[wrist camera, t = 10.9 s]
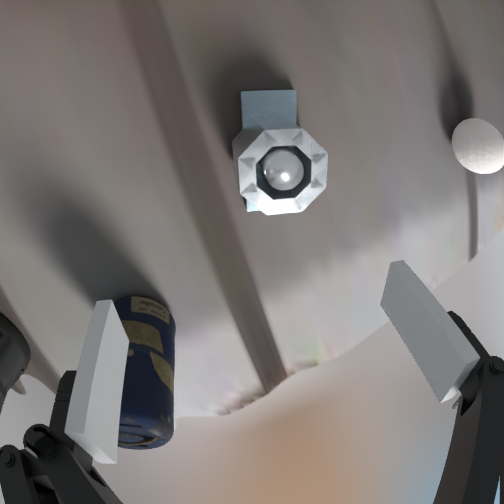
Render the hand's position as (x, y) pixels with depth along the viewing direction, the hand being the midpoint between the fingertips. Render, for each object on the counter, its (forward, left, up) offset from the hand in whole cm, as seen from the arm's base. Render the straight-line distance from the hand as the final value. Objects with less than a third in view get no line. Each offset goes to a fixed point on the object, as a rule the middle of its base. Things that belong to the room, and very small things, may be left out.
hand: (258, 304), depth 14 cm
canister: (-13, -18, -20) cm, 30 cm away
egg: (+28, +4, -20) cm, 34 cm away
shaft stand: (+4, +2, -20) cm, 20 cm away
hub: (+4, +2, -19) cm, 19 cm away
